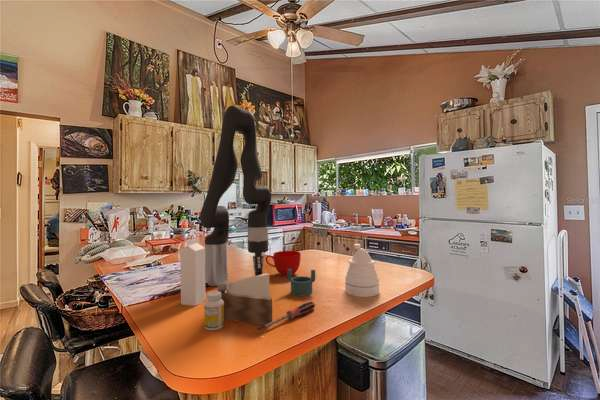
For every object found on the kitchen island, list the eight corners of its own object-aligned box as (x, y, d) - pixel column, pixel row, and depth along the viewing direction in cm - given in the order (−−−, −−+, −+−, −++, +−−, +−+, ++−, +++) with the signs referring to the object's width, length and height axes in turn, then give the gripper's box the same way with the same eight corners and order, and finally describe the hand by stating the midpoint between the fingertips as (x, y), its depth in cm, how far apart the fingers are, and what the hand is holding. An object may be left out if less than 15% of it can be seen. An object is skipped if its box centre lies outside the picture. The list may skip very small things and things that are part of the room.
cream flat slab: (220, 315, 90) (219, 286, 90) (216, 313, 92) (215, 284, 92) (270, 300, 103) (270, 274, 103) (266, 298, 105) (265, 272, 105)
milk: (180, 304, 101) (179, 241, 100) (191, 298, 107) (189, 238, 106) (196, 306, 99) (194, 241, 99) (206, 299, 105) (204, 239, 105)
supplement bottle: (211, 332, 79) (211, 297, 79) (200, 327, 83) (200, 293, 83) (227, 326, 83) (227, 292, 83) (217, 321, 87) (216, 289, 87)
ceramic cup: (269, 270, 147) (269, 250, 147) (302, 271, 144) (302, 251, 144) (262, 277, 134) (262, 255, 134) (298, 278, 131) (298, 256, 131)
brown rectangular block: (212, 317, 90) (212, 293, 89) (221, 312, 94) (220, 288, 94) (270, 325, 83) (269, 299, 83) (276, 319, 87) (276, 295, 87)
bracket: (317, 293, 111) (317, 270, 111) (296, 297, 106) (296, 273, 106) (305, 287, 119) (305, 265, 119) (285, 291, 114) (285, 268, 114)
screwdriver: (259, 338, 77) (259, 326, 76) (252, 334, 78) (252, 323, 78) (317, 309, 95) (317, 300, 95) (310, 307, 97) (310, 298, 97)
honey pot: (338, 291, 113) (338, 245, 112) (356, 284, 122) (356, 241, 122) (368, 299, 104) (368, 249, 104) (385, 290, 113) (384, 244, 113)
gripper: (247, 236, 114) (248, 280, 114) (248, 241, 101) (248, 291, 101) (266, 236, 116) (267, 279, 116) (269, 241, 103) (270, 290, 103)
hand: (258, 285), depth 109 cm, fingers closed
